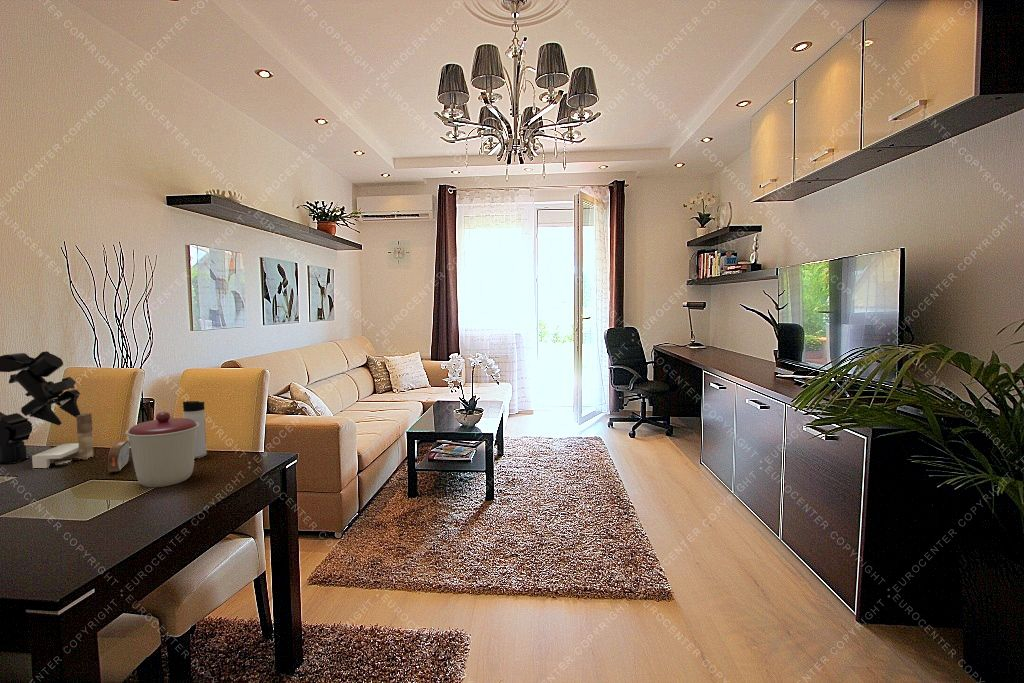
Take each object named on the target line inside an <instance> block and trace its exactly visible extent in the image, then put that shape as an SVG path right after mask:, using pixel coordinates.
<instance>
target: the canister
mask: <svg viewBox="0 0 1024 683" xmlns="http://www.w3.org/2000/svg"><path fill="white" fill-rule="evenodd" d="M155 418H156V419H153V420H147V421H143V422H139V423H137V424H135V425H133V426H131V427H130V428H129V429H127V430H125V433H124V434H125V435H126V436H128V441H129V442H130V453H131V457H132V462H133V467H134V471H135V475H136V479H137V480H138V482H139V484H140V485H141V486H143V487H147V488H161V487H162V488H163V487H168V486H172V485H177V484H180V483H182V482H185V481H186V480H187V479H189V478H190V477H191V476H192V474H193V472H194V467H195V460H194V459H195V448H196V436H197V428H198V427H199V425H200V424H199V423H198V422H195V421H194V420H191V419H186V418H184V417H171V414H170V413H169V412H168V411H160V412H158V413H157V414H156V415H155Z"/></svg>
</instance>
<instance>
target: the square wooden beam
mask: <svg viewBox="0 0 1024 683" xmlns="http://www.w3.org/2000/svg"><path fill="white" fill-rule="evenodd" d="M80 414H81V415H78V416H76V417H75V418H76V433H77V438H78V439H77V440H78V442H77V443H79V454H72V455H68V456H65V457H63V458H60V459H66V458H79V459H78V460H80V459H83V460H89V459H91V458H90V457H92V458H93V457H94V445H93V444H94V443H93V442H94V441H93V418H92V413H80ZM88 458H89V459H88ZM60 459H49V462H50V464H51V463H53V462H54V461H56V460H60ZM53 464H54V463H53ZM51 465H52V464H51Z"/></svg>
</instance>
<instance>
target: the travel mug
mask: <svg viewBox="0 0 1024 683" xmlns="http://www.w3.org/2000/svg"><path fill="white" fill-rule="evenodd" d="M182 407H183V411H182V412H183V415H182V416H183V417H182V418H186V419H191V420H194V421H195V422H198V423H199V424H200V425H199V427H198V428H197V436H196V448H195V458H200V457H204V456H206V455H208V453H207V435H206V434H207V433H206V432H207V430H206V409H205V401H199V400H190V401H189V400H188V401H183V402H182ZM206 457H207V456H206ZM204 458H205V457H204Z"/></svg>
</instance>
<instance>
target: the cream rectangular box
mask: <svg viewBox="0 0 1024 683" xmlns="http://www.w3.org/2000/svg"><path fill="white" fill-rule="evenodd" d="M72 454H79V443H78V442H74V443H73V442H72V443H71V442H70V443H62V444H59V445H57V446H55V447H51V448H49V449H47V450H44V451H41V452H39V453H38V452H37V453H35V454H33V455H31V459H32V460H31V462H32V469H33V468H47V467H49V466H50V462H49V459H60V458H63V457H65V456H68V455H72ZM50 467H51V466H50Z"/></svg>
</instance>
